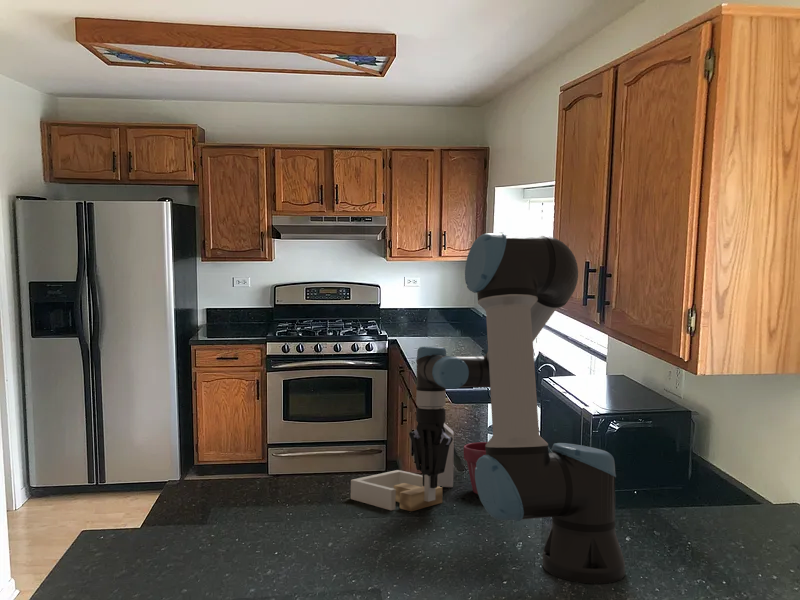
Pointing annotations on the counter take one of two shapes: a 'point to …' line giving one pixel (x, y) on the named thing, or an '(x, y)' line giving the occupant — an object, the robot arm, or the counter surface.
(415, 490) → the tee
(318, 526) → the counter surface
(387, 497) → the bay
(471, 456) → the plant pot
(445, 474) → the milk carton
